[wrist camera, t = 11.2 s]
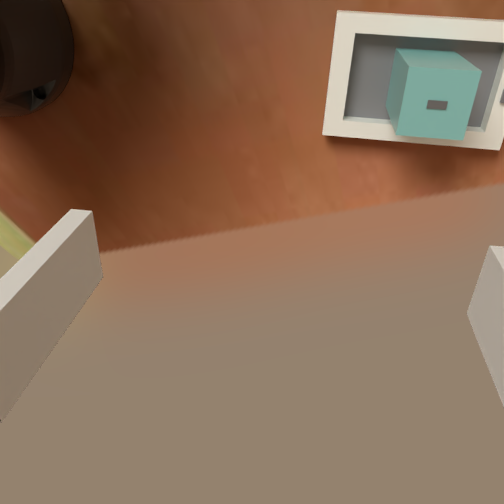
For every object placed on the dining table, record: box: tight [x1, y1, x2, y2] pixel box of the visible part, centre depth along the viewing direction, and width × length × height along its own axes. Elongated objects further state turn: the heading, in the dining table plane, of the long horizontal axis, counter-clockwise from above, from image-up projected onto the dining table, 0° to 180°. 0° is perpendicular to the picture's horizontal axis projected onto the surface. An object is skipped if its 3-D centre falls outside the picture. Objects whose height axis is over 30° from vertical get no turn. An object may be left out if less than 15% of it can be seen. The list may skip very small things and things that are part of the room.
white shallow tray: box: [322, 10, 504, 150], centre depth 42 cm, size 16×10×2 cm, turn 87°
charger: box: [386, 48, 482, 140], centre depth 39 cm, size 5×5×9 cm
